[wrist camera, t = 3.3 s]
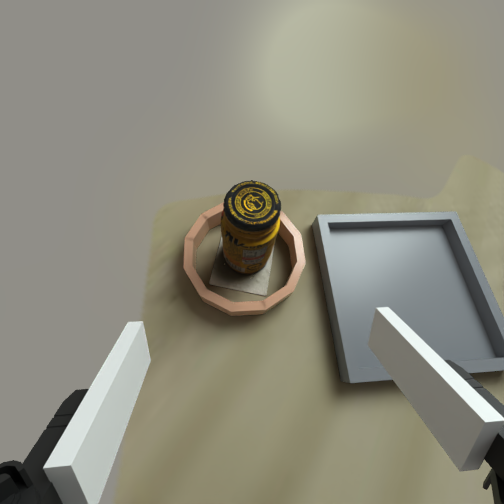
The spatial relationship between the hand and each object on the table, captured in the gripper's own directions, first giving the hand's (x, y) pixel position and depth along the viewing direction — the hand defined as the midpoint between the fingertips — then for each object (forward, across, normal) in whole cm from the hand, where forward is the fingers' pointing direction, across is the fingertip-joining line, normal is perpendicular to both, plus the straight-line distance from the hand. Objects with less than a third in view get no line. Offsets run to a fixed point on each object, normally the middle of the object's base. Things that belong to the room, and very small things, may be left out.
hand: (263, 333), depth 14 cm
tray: (+15, +20, -7) cm, 26 cm away
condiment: (+19, 0, -4) cm, 19 cm away
